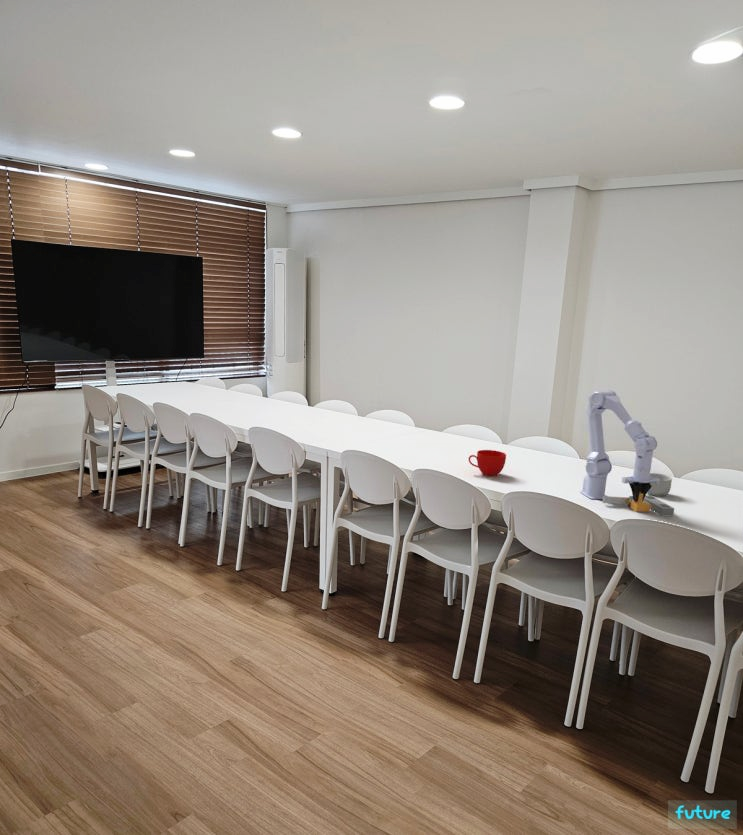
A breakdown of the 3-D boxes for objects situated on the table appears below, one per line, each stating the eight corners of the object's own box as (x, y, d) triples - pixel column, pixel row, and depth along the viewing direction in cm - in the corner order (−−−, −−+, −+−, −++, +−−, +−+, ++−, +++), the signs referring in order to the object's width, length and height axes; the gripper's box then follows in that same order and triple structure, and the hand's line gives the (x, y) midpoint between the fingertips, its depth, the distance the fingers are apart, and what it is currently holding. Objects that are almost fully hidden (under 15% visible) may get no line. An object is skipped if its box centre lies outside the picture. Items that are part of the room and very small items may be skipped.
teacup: (675, 497, 260) (678, 479, 259) (652, 498, 258) (655, 479, 256) (653, 488, 273) (656, 470, 272) (632, 488, 271) (634, 470, 270)
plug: (630, 508, 242) (632, 491, 240) (643, 508, 243) (646, 491, 241) (636, 511, 238) (638, 494, 237) (649, 511, 239) (652, 494, 237)
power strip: (637, 502, 251) (638, 494, 250) (649, 502, 251) (650, 494, 251) (661, 515, 235) (662, 507, 235) (673, 515, 236) (674, 507, 235)
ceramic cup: (463, 470, 286) (465, 449, 284) (499, 471, 287) (501, 450, 286) (471, 478, 273) (472, 456, 271) (508, 478, 275) (510, 457, 273)
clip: (631, 505, 245) (632, 495, 244) (632, 506, 244) (634, 497, 243) (601, 504, 245) (603, 494, 244) (603, 505, 243) (604, 495, 242)
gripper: (630, 469, 232) (626, 504, 234) (666, 470, 234) (661, 504, 236) (620, 464, 239) (616, 498, 241) (655, 465, 241) (650, 498, 243)
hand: (637, 501), depth 239 cm, fingers closed on plug, 2 cm apart
